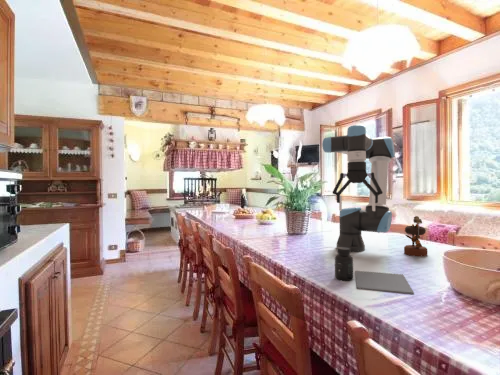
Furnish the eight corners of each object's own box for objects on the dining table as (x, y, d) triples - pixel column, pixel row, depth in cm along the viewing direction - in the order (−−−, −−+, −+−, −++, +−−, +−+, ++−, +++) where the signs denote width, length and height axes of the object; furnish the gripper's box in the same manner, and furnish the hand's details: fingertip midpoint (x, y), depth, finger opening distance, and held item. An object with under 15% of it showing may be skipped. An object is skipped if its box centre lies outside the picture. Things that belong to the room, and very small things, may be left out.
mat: (357, 288, 103) (357, 287, 103) (355, 271, 122) (355, 270, 122) (414, 294, 97) (414, 292, 97) (402, 275, 116) (402, 274, 116)
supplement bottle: (331, 277, 115) (330, 247, 115) (343, 274, 118) (343, 245, 118) (344, 282, 109) (344, 251, 109) (357, 279, 112) (356, 248, 112)
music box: (435, 257, 143) (431, 217, 142) (412, 259, 143) (409, 219, 143) (418, 249, 158) (414, 213, 157) (397, 251, 158) (394, 215, 158)
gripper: (327, 161, 124) (327, 211, 124) (390, 160, 118) (390, 211, 119) (326, 162, 131) (326, 209, 131) (385, 161, 126) (385, 210, 126)
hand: (356, 210), depth 125 cm, fingers open, 13 cm apart
